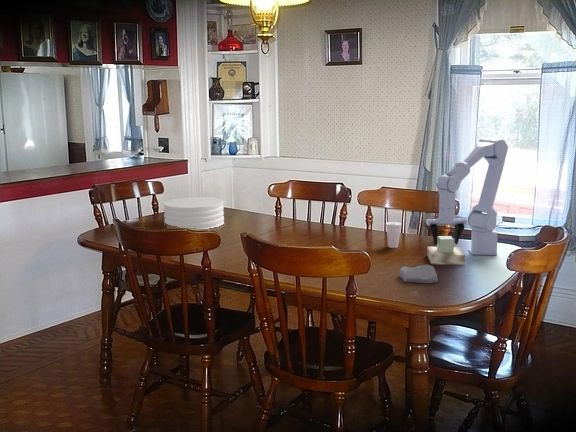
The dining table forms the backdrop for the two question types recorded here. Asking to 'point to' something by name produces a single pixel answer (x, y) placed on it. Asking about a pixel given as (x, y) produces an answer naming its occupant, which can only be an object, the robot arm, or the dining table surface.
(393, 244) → the smoothie
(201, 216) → the plate stack
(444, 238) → the green block
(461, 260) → the beige panel
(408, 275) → the stone block
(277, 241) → the dining table surface
